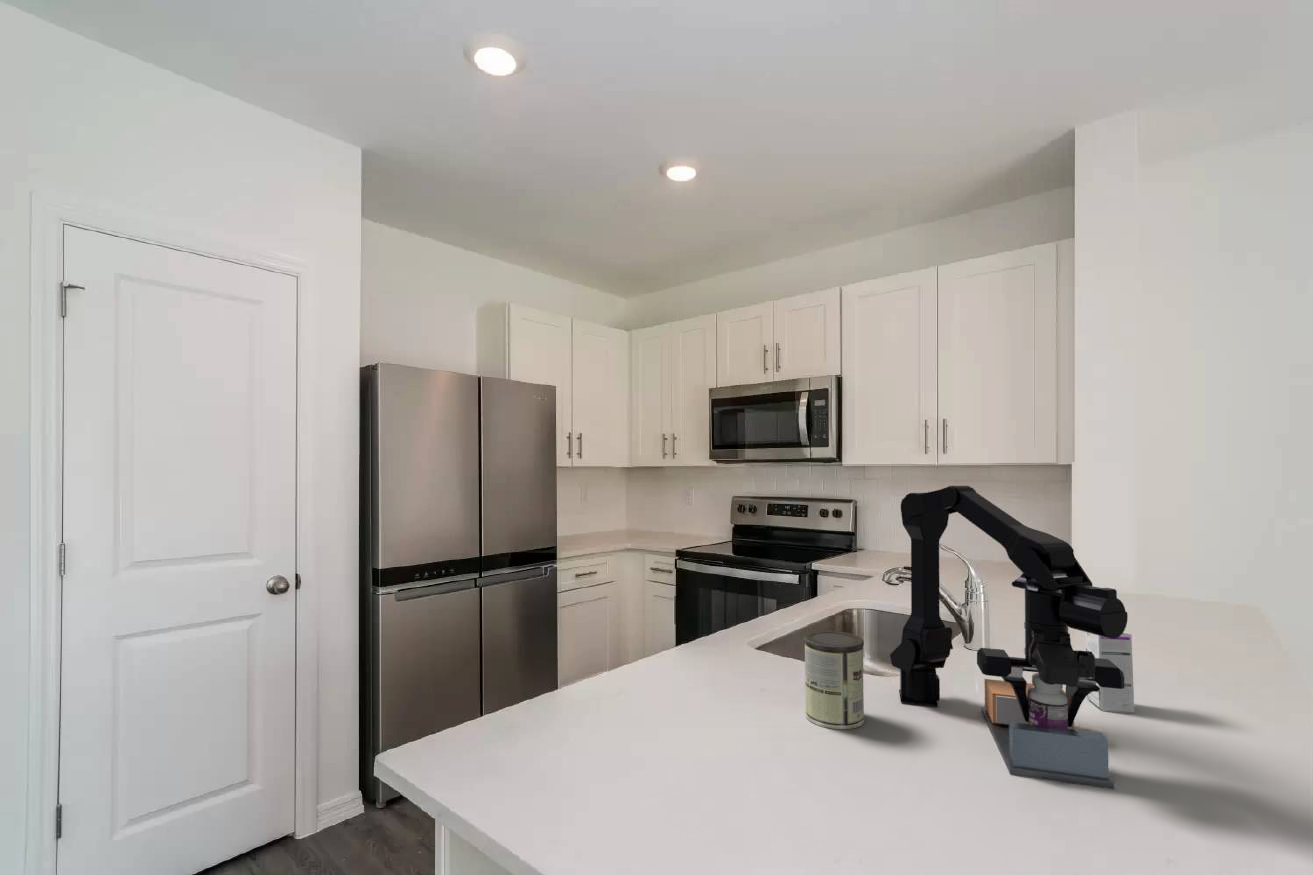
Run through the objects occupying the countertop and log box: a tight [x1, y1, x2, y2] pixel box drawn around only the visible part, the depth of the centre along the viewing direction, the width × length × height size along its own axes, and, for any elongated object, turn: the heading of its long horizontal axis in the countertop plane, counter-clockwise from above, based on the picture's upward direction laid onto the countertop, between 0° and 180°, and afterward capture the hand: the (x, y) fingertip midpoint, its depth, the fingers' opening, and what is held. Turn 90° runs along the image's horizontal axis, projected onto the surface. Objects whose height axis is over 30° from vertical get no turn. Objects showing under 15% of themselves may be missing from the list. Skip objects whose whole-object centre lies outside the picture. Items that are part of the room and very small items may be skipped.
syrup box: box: [1085, 630, 1135, 714], centre depth 120 cm, size 6×6×14 cm
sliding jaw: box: [984, 678, 1075, 730], centre depth 110 cm, size 8×12×5 cm, turn 72°
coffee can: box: [803, 630, 865, 730], centre depth 114 cm, size 10×10×14 cm
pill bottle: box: [1027, 672, 1068, 729], centre depth 98 cm, size 5×5×10 cm
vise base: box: [980, 706, 1115, 790], centre depth 103 cm, size 24×13×6 cm, turn 162°
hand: (1047, 723), depth 98 cm, fingers closed on pill bottle, 5 cm apart
